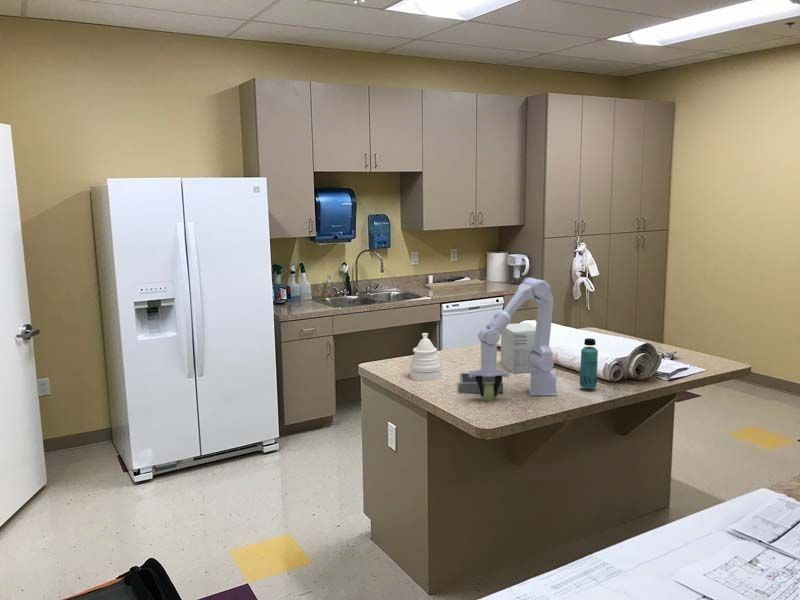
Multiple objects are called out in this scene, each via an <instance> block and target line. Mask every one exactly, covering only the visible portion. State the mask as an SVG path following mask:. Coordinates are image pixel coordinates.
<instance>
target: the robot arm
mask: <svg viewBox="0 0 800 600" xmlns="http://www.w3.org/2000/svg"><path fill="white" fill-rule="evenodd" d="M530 300H535V302H537V313H536V321H535V322H536V324H535V327H536V332H535V342H534V345H533V346H532V347H531V349H530V353H529V355H528V358H527V361H528V363H529V364H530V368H531V372H530V382H529V383H530V387H528V389H527V390H528V392H529V394H530V396H557V374H556V370H555V369H553V368H554V365H555V361H554V358H553V353H554V352H553V351H552V348H551V347H550V339H551V329H552V322H553V321H552V319H553V311H554V297H553V294H552V291H551V285H550V284H549V283H548V282H547V281H546V280H543V279H537V278H534V277H526V278H524V279H523V281H522V283H520V284H519V286H518V288H517V290H516V292H515V293H514V295H513V296H512V297H511V299H510V300H509V302H508V303H507V305H506V306H505V308H504V309H503V310H499V311H498V312H495V313H494V314H493V317H492V319H491V320H490V321H489V323H486V325H485V326H484V327H482V328H481V329H480V330H479V333H478V334H477V337H478V340H479V341H480V369H479V370H478V369H477V370H468V373H469V377H475V378H476V381H477V383H478V386H479V388H480V392H481V394H480V397H483V388H482V387H483V380H482V377H495V397H497V396H498V394H497V391H498V388H499V386H500V384H501V382H502V381H503V378H510V375H509V373H510V371H509V370H498V369H497V365H498V364H497V363H498V362H497V357H498V356H497V354H498V353H497V351H498V350H497V343H499V342H500V341H501V333H502V331H503V330H504V329H505V328H506V327H507V325H508V324H511V321H512V316H513V315H514V313H515V312H516V311H517V310H518V309H519V308H520V307H521V306H522V304H523V303H525V301H530Z"/></svg>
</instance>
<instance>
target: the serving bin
mask: <svg viewBox="0 0 800 600" xmlns="http://www.w3.org/2000/svg"><path fill="white" fill-rule="evenodd" d="M482 380H483V383H484V382H492V383H494V384H495V377H482ZM459 386H460V394H461V393H472V394H480V395H481V392H480V388H479V386H478V383H477V381H476V378H475V377H469V372H466V373H465V372H464V373H463V372H459ZM482 388H483V387H482ZM498 394H499V395H501V394H504V381H503V380H502V382H501V384H500V386H499V388H498V391H497V395H498Z"/></svg>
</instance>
